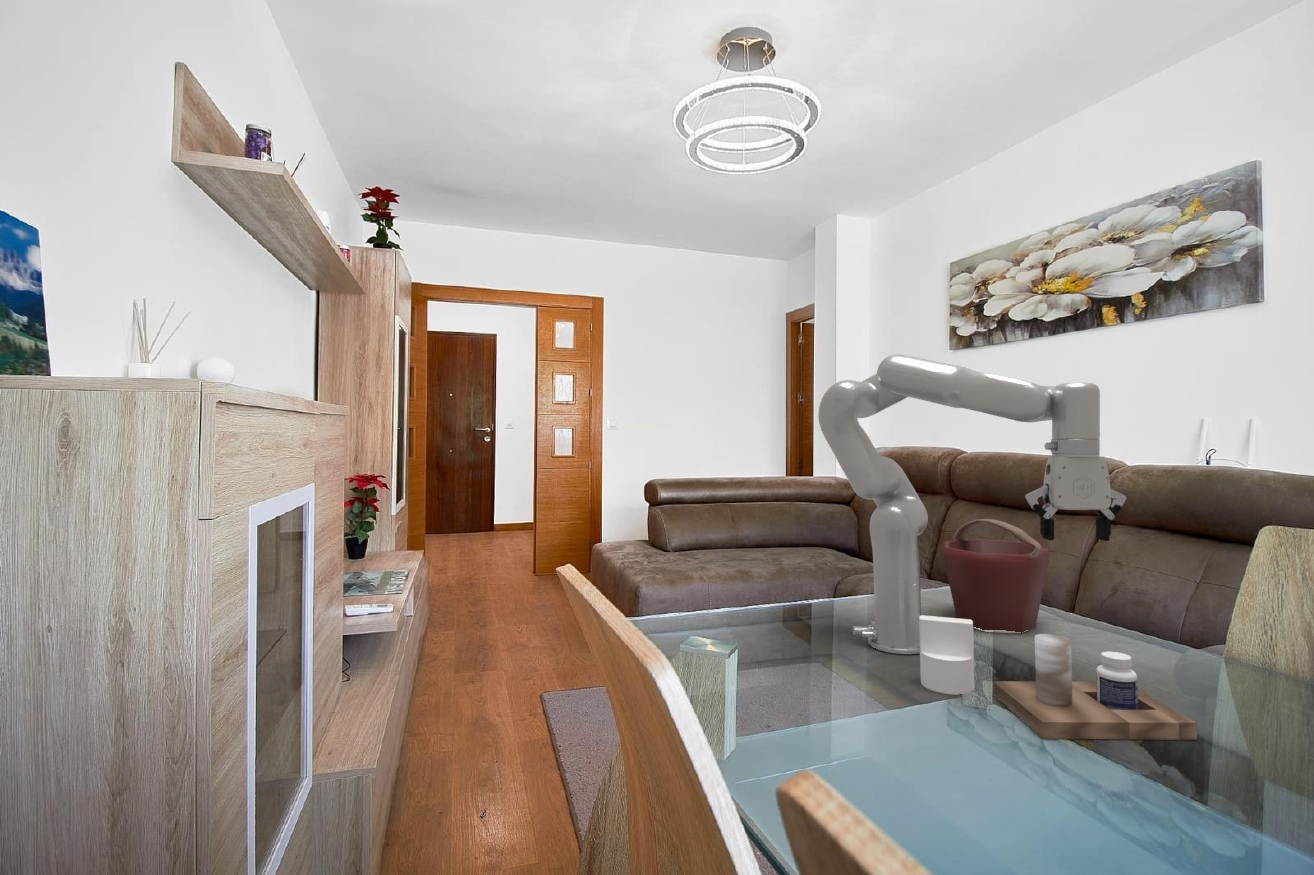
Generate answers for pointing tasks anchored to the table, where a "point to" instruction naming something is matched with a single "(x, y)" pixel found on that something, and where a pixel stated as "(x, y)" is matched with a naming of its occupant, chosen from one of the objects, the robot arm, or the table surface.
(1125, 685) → the pill bottle
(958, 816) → the table surface
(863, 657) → the table surface
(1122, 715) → the pin board
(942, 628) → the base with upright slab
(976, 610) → the bucket
